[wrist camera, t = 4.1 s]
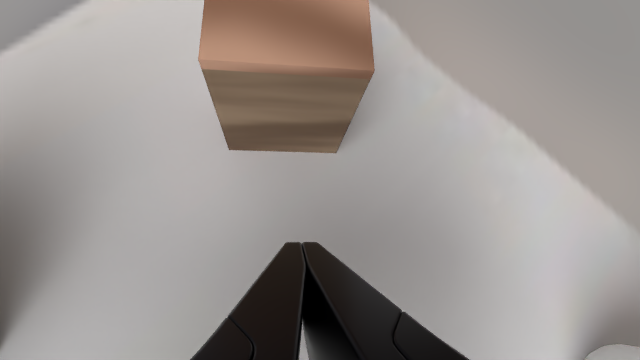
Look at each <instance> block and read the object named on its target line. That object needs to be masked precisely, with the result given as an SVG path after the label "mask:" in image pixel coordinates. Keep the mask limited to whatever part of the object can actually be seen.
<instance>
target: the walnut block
mask: <svg viewBox="0 0 640 360" xmlns="http://www.w3.org/2000/svg"><path fill="white" fill-rule="evenodd" d="M198 60H199V63H200V66H201V69H202V72H203V75H204V78H205V80H206V83H207V86H208V89H209V92H210V95H211V98H212V101H213V104H214V107H215V110H216V113H217V116H218V119H219V122H220V124H221V127H222V130H223V133H224V136H225V139H226V142H227V145H228V148H229V150H251V151H285V152H319V153H336V152H337V149H338V147H339V145H340V143H341V141H342V139H343V137H344V135H345V132H346V130H347V128H348V126H349V124H350V122H351V120H352V118H353V115H354V113H355V111H356V109H357V107H358V105H359V103H360V101H361V98H362V96H363V94H364V92H365V90H366V88H367V86H368V83H369V81H370V79H371V77H372V75H373V73H374V71H375V70H374V59H373V47H372V35H371V24H370V12H369V1H368V0H204V10H203V19H202V29H201V38H200V48H199V57H198Z"/></svg>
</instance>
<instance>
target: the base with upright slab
mask: <svg viewBox="0 0 640 360" xmlns="http://www.w3.org/2000/svg"><path fill="white" fill-rule="evenodd" d="M584 360H640V347H635V346H630V345H624V344H614V345H606V346H602V347H600V348H599V349H597V350H595V351H593V352H591V353H589V354H588V356H587V357H586V358H585V359H584Z"/></svg>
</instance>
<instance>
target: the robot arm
mask: <svg viewBox="0 0 640 360" xmlns="http://www.w3.org/2000/svg"><path fill="white" fill-rule="evenodd" d="M302 324H303V330H304V336H305V341H306V346H307V352H308V357H309V360H469V359H468V358H466V357H465V356H464V355H462V354H461V353H459V352H458V351H456V350H455V349H454V348H452V347H451V346H449V345H448V344H446V343H445V342H444V341H442V340H441V339H439V338H438V337H437V336H435V335H434V334H433V333H431V332H430V331H429V330H427V329H426V328H425V327H423V326H422V325H421V324H419V323H418V322H417V321H416V320H414V319H413V318H412V317H411V316H409V315H408V314H407V313H406V312H402V310H401V309H400V308H398V307H397V306H396V305H395V304H393V303H392V302H391V301H390V300H388V299H387V298H386V297H385V296H383V295H382V294H381V293H380V292H378V291H377V290H376V289H375V288H373V287H372V286H371V285H370V284H368V283H367V282H366V281H365V280H364V279H362V278H361V277H360V276H359V275H357V274H356V273H355V272H354V271H352V270H351V269H350V268H349V267H347V266H346V265H345V264H344V263H342V262H341V261H340V260H339V259H337V258H336V257H335V256H334V255H332V254H331V253H330V252H329V251H327V250H326V249H325V248H324V247H322V246H321V245H320V244H319V243H317V242H304V243H302V244H301V243H300V242H287V243H285V244H284V246H283V247H282V248H281V249H280V251H279V252H278V253H277V254H276V256H275V257H274V258H273V259H272V261H271V262H270V263H269V265H268V266H267V267H266V268H265V270H264V271H263V272H262V273H261V275H260V276H259V277H258V279H257V280H256V281H255V282H254V284H253V285H252V286H251V287H250V289H249V290H248V291H247V292H246V294H245V295H244V296H243V298H242V299H241V300H240V301H239V303H238V304H237V305H236V306H235V308H234V309H233V310H232V312H231V313H230V314H229V315H228V317H227V318H225V320H224V321H223V322H222V323H221V325H220V326H219V327H218V328H217V330H216V331H215V332H214V333H213V335H212V336H211V337H210V338H209V339H208V340H207V342H206V343H205V344H204V345H203V346H202V348H201V349H200V350H199V351H198V352H197V353H196V354H195V355H194V356H193V357H192V358H191V359H190V360H299V353H300V342H301V330H302Z"/></svg>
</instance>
